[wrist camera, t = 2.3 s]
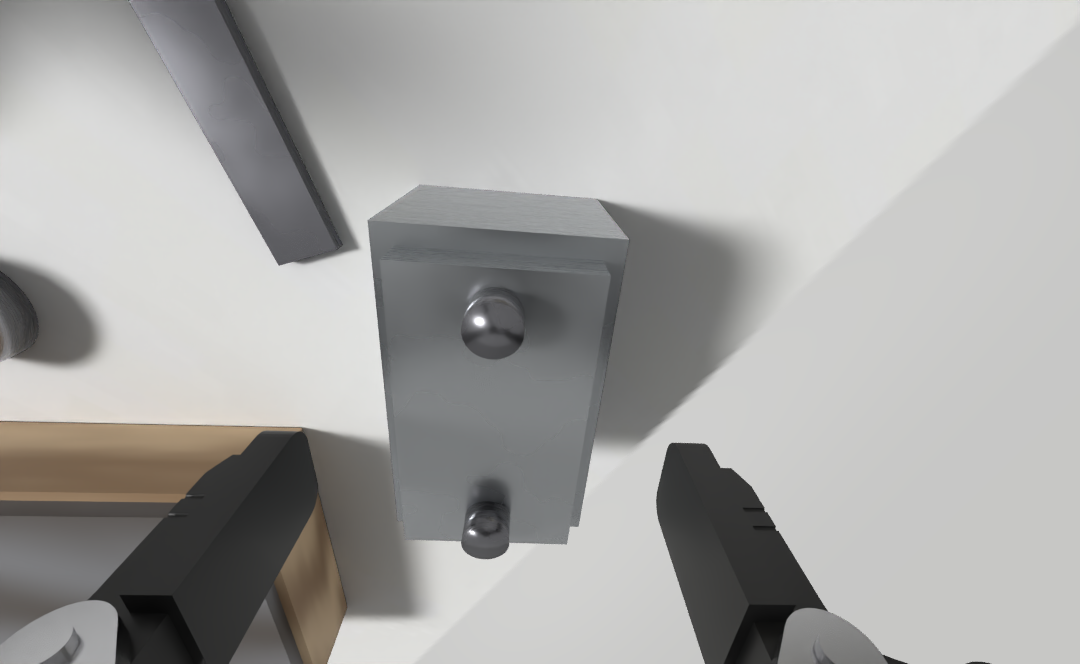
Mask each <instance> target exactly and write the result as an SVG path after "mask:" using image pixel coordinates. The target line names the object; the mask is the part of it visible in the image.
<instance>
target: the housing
mask: <svg viewBox="0 0 1080 664" xmlns="http://www.w3.org/2000/svg"><path fill="white" fill-rule="evenodd" d="M368 228H369V238H370V248H371V258H372V268H373V278H374V288H375V299H376V309H377V319H378V329H379V339H380V349H381V359H382V369H383V379H384V389H385V400H386V410H387V420H388V430H389V440H390V450H391V460H392V470H393V480H394V490H395V501H396V511H397V521H403V523H404V534H405V539H406V540H440V541H461V545H462V548H463V550H464V551H465V552H466V553H467V554H469V555H470V556H473V557H475V558H479V559H492V558H496V557H499V556H501V555H502V554H504V553H505V552H506V551H507V549H508V547H509V543H540V544H543V543H544V544H567V540H568V534H569V527H570V526H575V527H578V526H579V521H580V515H581V509H582V504H583V498H584V492H585V487H586V481H587V476H588V470H589V464H590V459H591V453H592V447H593V442H594V436H595V431H596V425H597V419H598V414H599V408H600V402H601V397H602V391H603V386H604V380H605V374H606V369H607V363H608V357H609V352H610V346H611V341H612V335H613V329H614V324H615V318H616V312H617V307H618V301H619V296H620V290H621V284H622V279H623V273H624V267H625V262H626V256H627V251H628V245H629V238H628V237H627V236H626V235H625V234H624V232H623V231H622V230H621V229H620V227H619V226H618V225H617V224H616V222H615V221H614V220H613V219H612V217H611V216H610V215H609V214H608V212H607V211H606V210H605V209H604V207H603V206H602V205H601V204H600V202H599V201H598V200H597V199H592V198H580V197H567V196H555V195H542V194H529V193H517V192H504V191H492V190H479V189H467V188H454V187H442V186H429V185H419V186H417V187H416V188H414V189H413V190H411V191H410V192H408V193H407V194H406V195H404V196H403V197H401V198H400V199H398V200H397V201H395V202H394V203H392V204H391V205H389V206H388V207H386V208H385V209H383V210H382V211H381V212H379V213H378V214H376V215H375V216H373V217H372V218H370V219H369V220H368Z"/></svg>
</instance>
